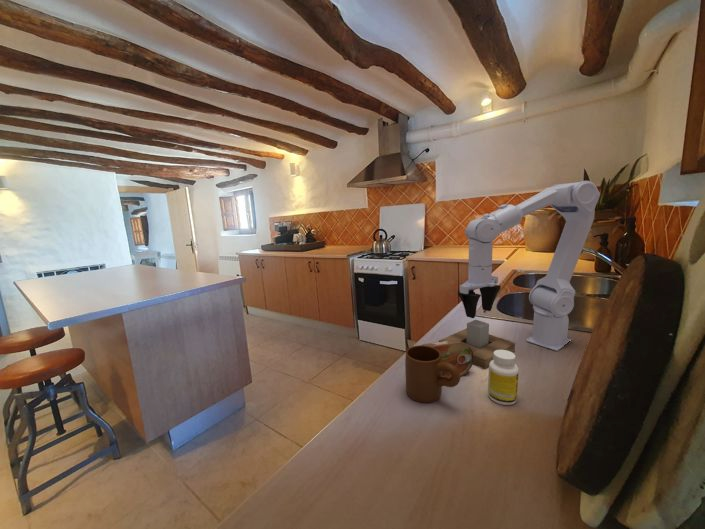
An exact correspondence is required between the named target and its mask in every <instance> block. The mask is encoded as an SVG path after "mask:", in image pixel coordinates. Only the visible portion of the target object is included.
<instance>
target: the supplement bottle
mask: <svg viewBox="0 0 705 529" xmlns="http://www.w3.org/2000/svg"><path fill="white" fill-rule="evenodd" d="M516 357H517V356H516V355H515V352H513V353H512V352H510V351H507V350H496V351H494V353H493V360H492V361H491V362H490V363H489V367H488V380H487V382H488V383H487V395H488V397H489V398H490V399H491V400H492V401H493V402H495V403H497V404H500V405H503V406H510V405H514V404H515V403H517V400H518V388H519V386H518V384H519V372H520V368H519V366H517V364H516V359H517V358H516Z"/></svg>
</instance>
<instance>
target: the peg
mask: <svg viewBox="0 0 705 529" xmlns="http://www.w3.org/2000/svg"><path fill="white" fill-rule="evenodd" d="M466 328H467V342H466V344H468V345H471V346H473V347H476V348H478V349H481V348H483V347H485V346H487V345H488V340H489V334H490V323H488V322H485V321H481V320H478V319H473V320H471V321H469V322H467V323H466Z"/></svg>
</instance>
